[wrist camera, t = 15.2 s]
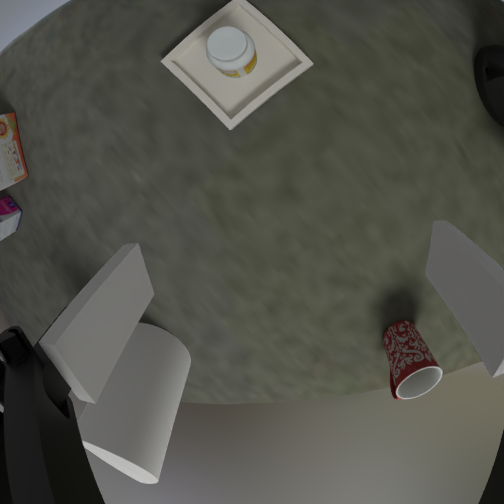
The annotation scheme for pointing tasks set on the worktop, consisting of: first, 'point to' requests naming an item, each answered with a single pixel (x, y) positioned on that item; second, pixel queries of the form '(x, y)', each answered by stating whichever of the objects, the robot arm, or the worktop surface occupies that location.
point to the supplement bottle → (231, 52)
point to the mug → (409, 361)
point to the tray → (245, 88)
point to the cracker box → (10, 152)
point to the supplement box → (8, 217)
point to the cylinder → (138, 404)
